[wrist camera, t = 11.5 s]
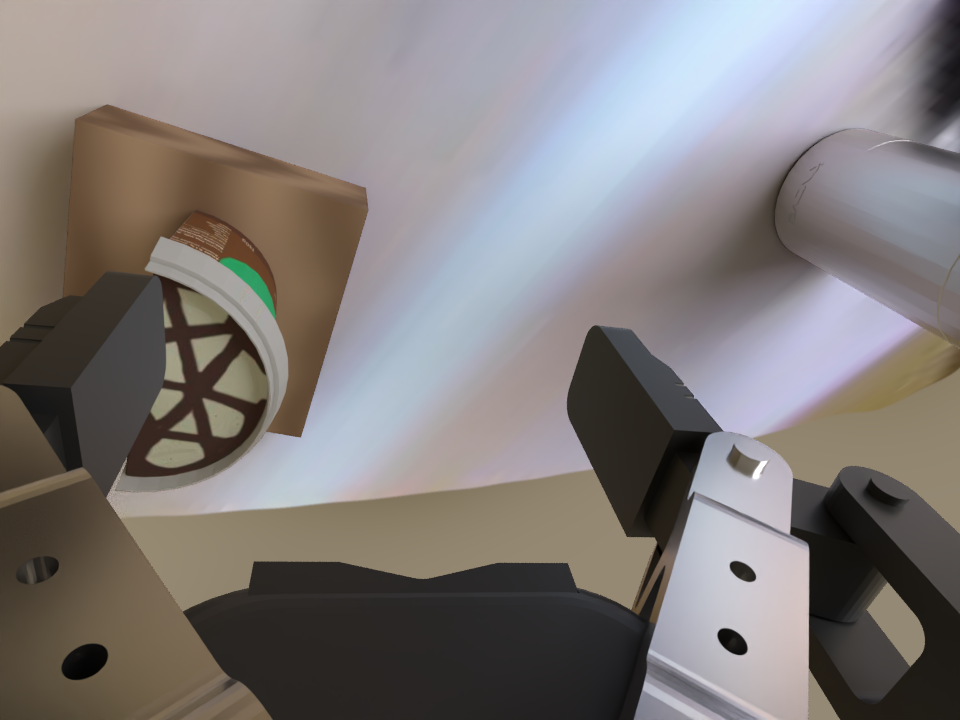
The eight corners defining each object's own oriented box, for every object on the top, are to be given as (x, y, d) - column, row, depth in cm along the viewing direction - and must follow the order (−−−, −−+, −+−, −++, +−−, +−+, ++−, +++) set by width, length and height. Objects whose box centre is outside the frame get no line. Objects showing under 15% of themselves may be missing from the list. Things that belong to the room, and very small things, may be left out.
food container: (273, 399, 38) (254, 516, 30) (166, 379, 36) (113, 499, 27) (322, 218, 33) (315, 298, 24) (200, 181, 30) (146, 255, 22)
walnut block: (365, 185, 37) (368, 210, 33) (304, 394, 44) (300, 437, 40) (110, 103, 32) (75, 119, 28) (86, 352, 39) (56, 395, 35)
